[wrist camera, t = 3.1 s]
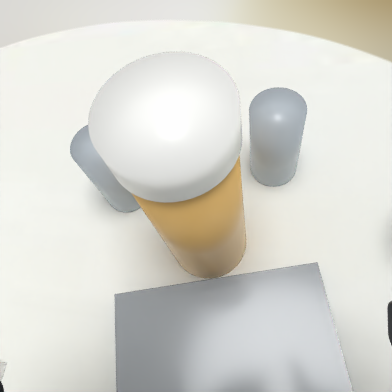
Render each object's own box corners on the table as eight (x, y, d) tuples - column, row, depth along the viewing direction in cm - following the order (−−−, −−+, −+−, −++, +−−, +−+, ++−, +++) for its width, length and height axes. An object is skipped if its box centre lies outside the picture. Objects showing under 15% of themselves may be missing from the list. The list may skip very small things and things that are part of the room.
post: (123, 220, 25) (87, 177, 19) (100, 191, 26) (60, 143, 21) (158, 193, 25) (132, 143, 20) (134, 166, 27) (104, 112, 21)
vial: (203, 297, 22) (144, 208, 10) (156, 239, 24) (61, 109, 12) (265, 244, 23) (274, 107, 11) (213, 192, 25) (176, 30, 13)
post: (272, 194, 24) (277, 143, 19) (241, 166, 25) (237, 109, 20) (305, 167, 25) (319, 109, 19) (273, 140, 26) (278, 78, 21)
